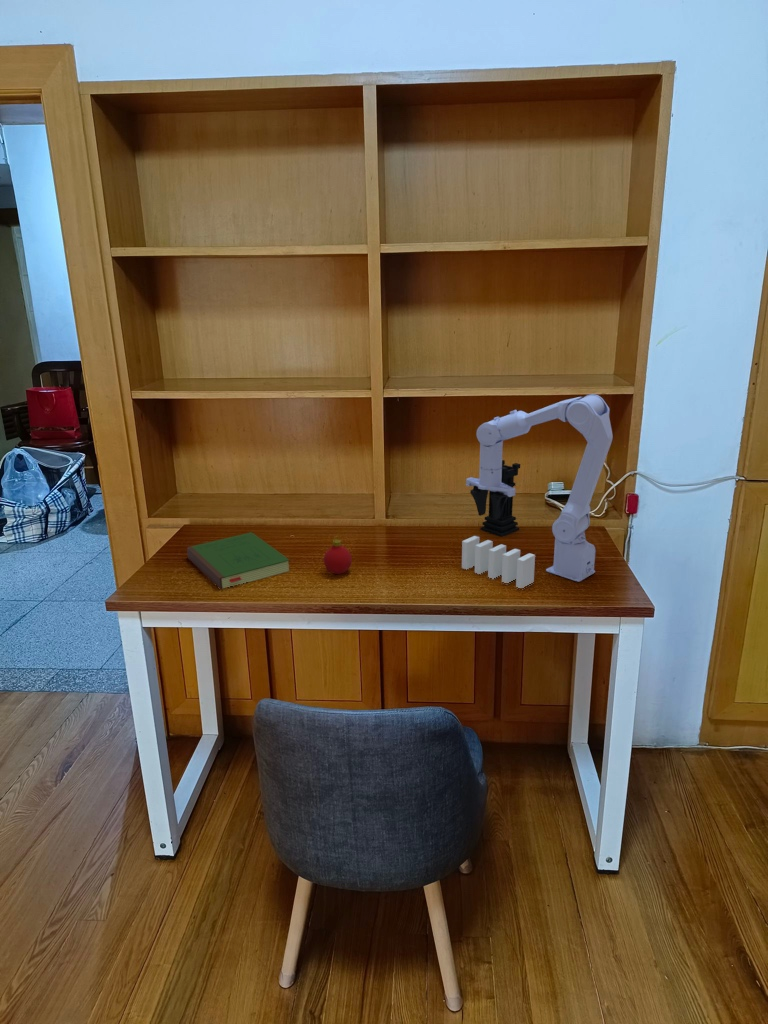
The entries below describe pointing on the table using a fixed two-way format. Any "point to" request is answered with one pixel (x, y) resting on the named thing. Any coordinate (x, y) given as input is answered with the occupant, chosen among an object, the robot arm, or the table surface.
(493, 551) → the domino
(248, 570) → the hardcover book
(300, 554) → the table surface
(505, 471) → the chess piece
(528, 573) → the domino
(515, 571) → the domino
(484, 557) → the domino
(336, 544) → the christmas ornament
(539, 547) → the table surface
